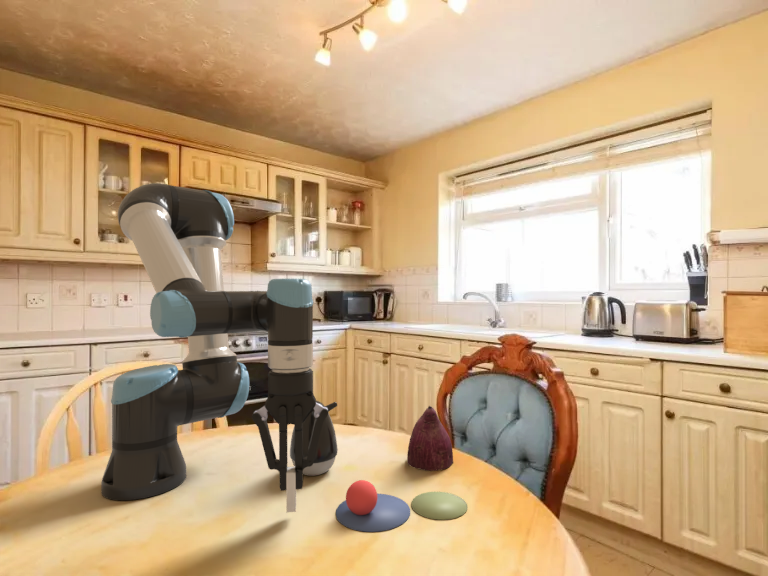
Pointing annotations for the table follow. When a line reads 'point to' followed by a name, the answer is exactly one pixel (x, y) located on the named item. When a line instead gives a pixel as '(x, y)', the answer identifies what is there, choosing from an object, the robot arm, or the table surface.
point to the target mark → (376, 515)
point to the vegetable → (429, 444)
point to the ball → (361, 497)
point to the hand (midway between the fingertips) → (291, 508)
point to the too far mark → (439, 505)
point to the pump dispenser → (325, 444)
